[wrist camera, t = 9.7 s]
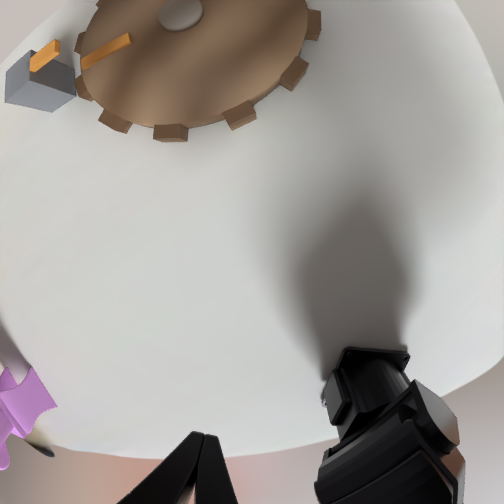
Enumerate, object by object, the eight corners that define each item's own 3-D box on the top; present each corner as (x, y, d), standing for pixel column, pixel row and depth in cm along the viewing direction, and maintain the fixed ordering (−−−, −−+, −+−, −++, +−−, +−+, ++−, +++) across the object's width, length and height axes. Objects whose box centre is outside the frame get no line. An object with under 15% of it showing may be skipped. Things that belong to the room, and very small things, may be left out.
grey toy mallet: (99, 82, 17) (54, 60, 11) (51, 112, 17) (4, 102, 12) (96, 55, 16) (55, 30, 10) (50, 85, 17) (6, 71, 11)
